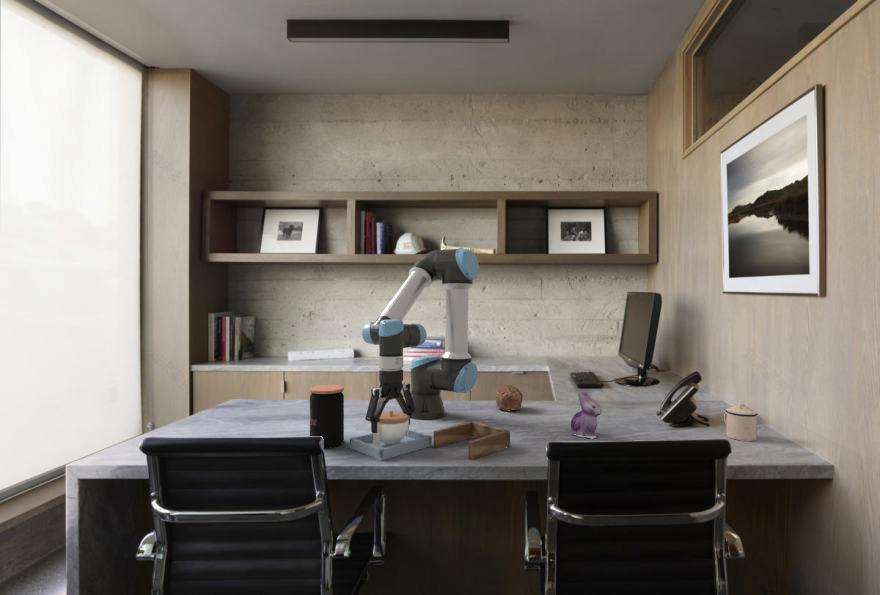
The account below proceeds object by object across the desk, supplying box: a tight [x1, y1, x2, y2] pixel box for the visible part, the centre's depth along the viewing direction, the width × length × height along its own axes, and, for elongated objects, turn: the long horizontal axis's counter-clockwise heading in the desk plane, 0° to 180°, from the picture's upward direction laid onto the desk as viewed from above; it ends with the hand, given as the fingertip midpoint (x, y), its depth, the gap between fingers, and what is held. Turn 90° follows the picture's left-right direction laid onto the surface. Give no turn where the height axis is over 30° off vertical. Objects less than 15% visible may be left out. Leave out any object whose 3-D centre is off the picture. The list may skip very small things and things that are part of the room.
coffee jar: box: [309, 384, 345, 449], centre depth 159 cm, size 11×11×18 cm
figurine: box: [570, 389, 603, 436], centre depth 169 cm, size 9×10×15 cm
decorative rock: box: [495, 383, 524, 411], centre depth 206 cm, size 13×11×10 cm
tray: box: [349, 428, 433, 461], centre depth 156 cm, size 16×20×3 cm
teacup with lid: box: [723, 401, 758, 442], centre depth 168 cm, size 12×9×12 cm
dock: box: [432, 420, 511, 461], centre depth 156 cm, size 16×18×5 cm
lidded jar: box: [378, 410, 408, 444], centre depth 156 cm, size 11×11×9 cm
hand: (391, 439), depth 156 cm, fingers closed on lidded jar, 11 cm apart
